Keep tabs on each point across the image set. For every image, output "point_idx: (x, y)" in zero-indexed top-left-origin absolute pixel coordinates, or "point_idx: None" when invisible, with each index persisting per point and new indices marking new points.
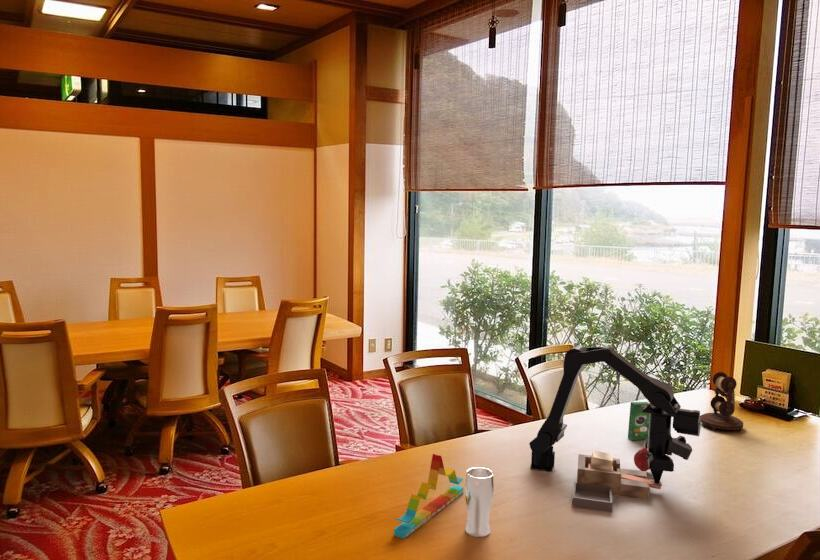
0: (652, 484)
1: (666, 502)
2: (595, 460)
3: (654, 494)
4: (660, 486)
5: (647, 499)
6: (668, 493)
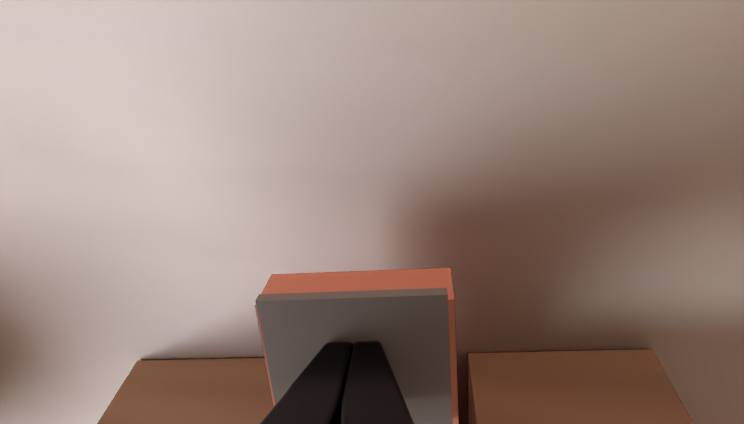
0: (457, 420)
1: (680, 141)
2: None
3: None
4: (450, 304)
5: (653, 363)
6: (315, 101)
